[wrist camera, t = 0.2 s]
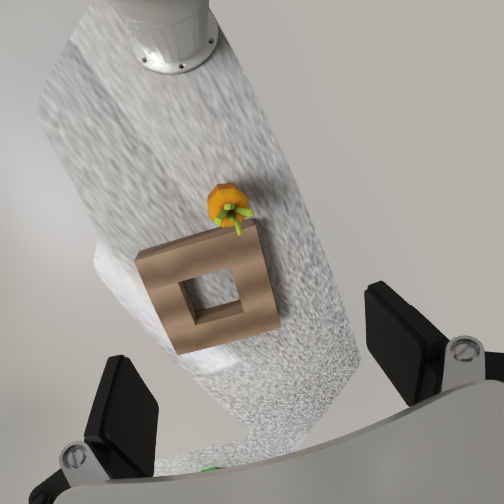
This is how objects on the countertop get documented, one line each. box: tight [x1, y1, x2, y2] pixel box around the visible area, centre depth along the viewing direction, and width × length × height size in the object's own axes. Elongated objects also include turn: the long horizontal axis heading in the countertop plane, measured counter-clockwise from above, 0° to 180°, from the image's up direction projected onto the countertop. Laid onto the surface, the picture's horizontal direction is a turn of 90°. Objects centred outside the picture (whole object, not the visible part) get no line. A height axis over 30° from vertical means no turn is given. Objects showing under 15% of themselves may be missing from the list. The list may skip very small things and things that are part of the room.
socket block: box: [134, 218, 281, 355], centre depth 47 cm, size 18×18×4 cm
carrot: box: [207, 183, 254, 236], centre depth 37 cm, size 5×5×15 cm
